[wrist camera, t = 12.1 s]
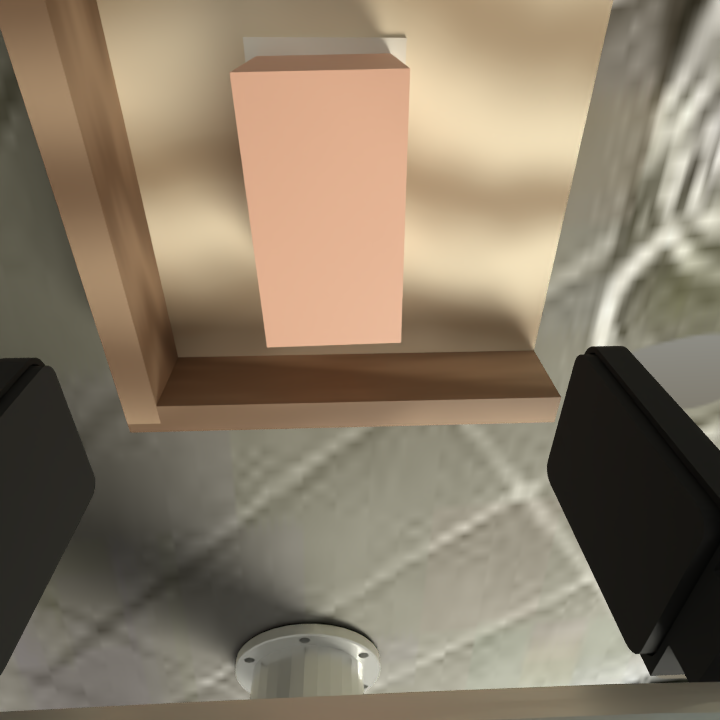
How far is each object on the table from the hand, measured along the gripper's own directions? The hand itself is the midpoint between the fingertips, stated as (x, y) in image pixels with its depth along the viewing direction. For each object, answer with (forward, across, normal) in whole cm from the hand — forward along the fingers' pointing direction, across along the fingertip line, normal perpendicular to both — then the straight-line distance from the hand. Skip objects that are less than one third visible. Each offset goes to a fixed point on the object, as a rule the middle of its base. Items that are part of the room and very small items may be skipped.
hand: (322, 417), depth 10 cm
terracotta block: (+15, 0, -1) cm, 15 cm away
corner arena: (+16, 0, -1) cm, 16 cm away
